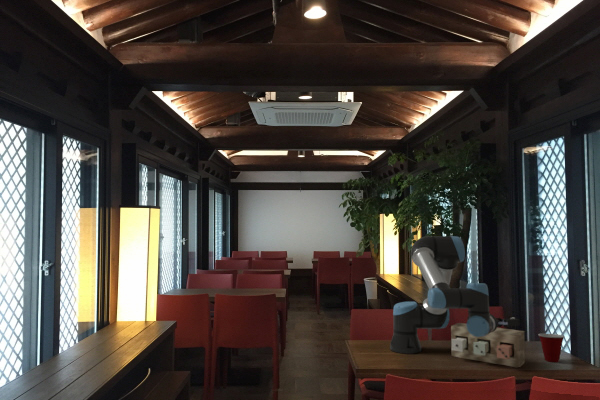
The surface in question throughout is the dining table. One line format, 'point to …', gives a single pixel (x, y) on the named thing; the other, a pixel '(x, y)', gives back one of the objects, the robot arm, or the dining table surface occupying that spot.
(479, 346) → the button
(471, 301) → the robot arm
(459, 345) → the button
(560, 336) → the plastic cup
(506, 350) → the button
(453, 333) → the console
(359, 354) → the dining table surface
